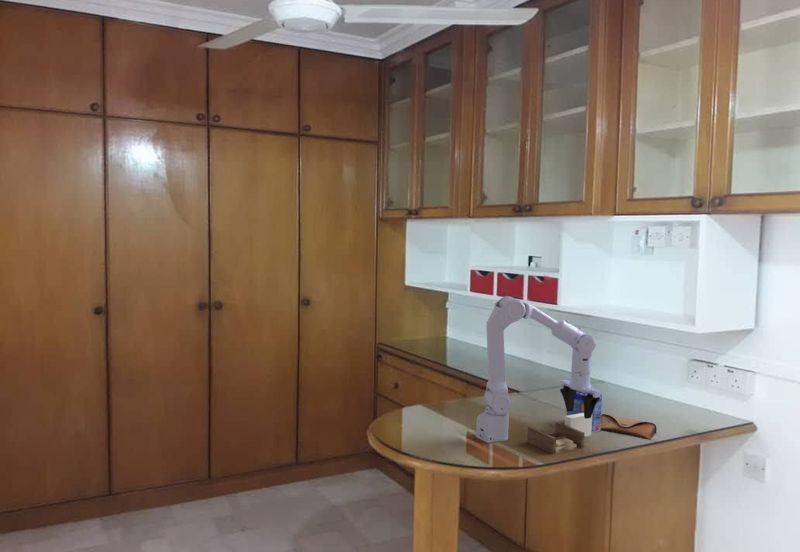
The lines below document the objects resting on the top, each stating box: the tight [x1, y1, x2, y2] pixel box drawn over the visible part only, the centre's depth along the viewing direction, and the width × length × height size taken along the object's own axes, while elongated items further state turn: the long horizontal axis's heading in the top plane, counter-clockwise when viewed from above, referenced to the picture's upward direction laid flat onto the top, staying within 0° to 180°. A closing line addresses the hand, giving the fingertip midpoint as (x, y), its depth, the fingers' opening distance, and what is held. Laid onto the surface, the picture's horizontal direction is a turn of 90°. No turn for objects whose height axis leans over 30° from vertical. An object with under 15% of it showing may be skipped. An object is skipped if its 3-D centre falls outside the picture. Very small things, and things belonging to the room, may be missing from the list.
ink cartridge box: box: [566, 391, 603, 433], centre depth 208 cm, size 10×6×14 cm, turn 46°
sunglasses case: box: [600, 413, 657, 440], centre depth 207 cm, size 18×7×7 cm, turn 60°
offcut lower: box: [556, 443, 577, 452], centre depth 187 cm, size 8×4×1 cm, turn 119°
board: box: [564, 413, 592, 438], centre depth 197 cm, size 9×2×7 cm, turn 119°
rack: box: [526, 421, 585, 455], centre depth 189 cm, size 12×11×6 cm
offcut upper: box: [556, 438, 573, 447], centre depth 187 cm, size 6×3×1 cm, turn 119°
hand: (578, 414), depth 197 cm, fingers open, 7 cm apart
